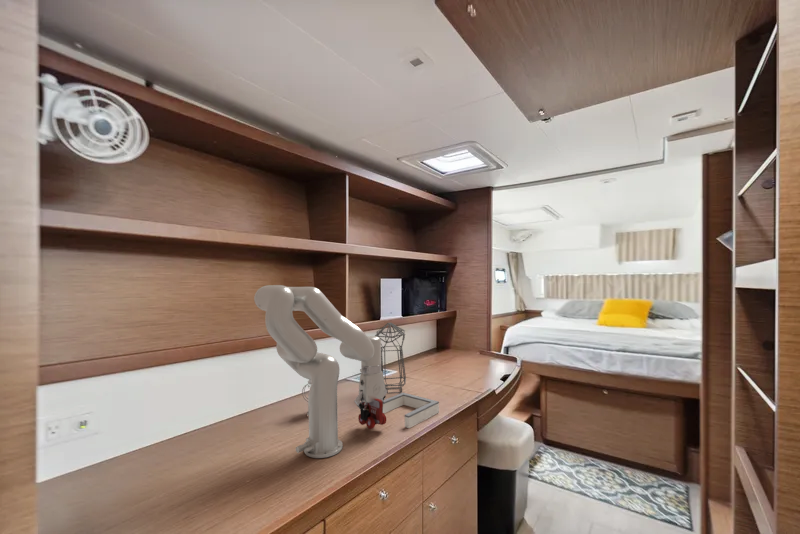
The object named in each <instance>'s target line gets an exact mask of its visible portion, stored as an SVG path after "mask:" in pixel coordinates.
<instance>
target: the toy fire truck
mask: <svg viewBox="0 0 800 534" xmlns="http://www.w3.org/2000/svg"><path fill="white" fill-rule="evenodd" d="M364 404H365V402H364V403H363V405H364ZM382 408H383V402H382V400H380V399H374V402H371V403H368V405H367V408H366V409H367V411H368V418H367V421H364V420H362V419H361V415H360V413H359V414H358V418H357V419H358V422H359V424H360V425H362V426H364V425H366V427H367V428H368V429H369V430H373V429H374V428H375V427H376V425H380V426H383V425H385V424H386V423H387V416H386V414H385V413H382Z"/></svg>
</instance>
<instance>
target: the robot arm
mask: <svg viewBox="0 0 800 534" xmlns="http://www.w3.org/2000/svg"><path fill="white" fill-rule="evenodd" d="M253 299H254V300H253V301H254V303H255V305H256V307H257V308H258V309H259V310H261V311H262V312H263V311H264V312H265V314H264V315H265V322H264V323H265V328H266V331H267V333H268V334H269V336H270V337H271V338H272V339H273V340H274V341H275V342H276V346H275V347H276V352H277V354H278V356H279V357H280V358H281V359H282V360H283V361H284V362H285V363H286V364H287V365H288V366H289V367H290V368H291V370H294V371H295V373H297V374H298V375H299V376H301V377H302V378H304V379H307V380H308V381H309V380H311V381H312V383H311V384H310V387H309V391H308V394H309V397H307V398H308V399H307V401H308V402H307V403H308V404H309V417H308V437H306V438H305V442H304V443H302V444H300V445H298V446H296V447H295V452H296V453H297V454H299V453H301V452H304V455H306V456H307V457H309V458H313V459H324V458H330V457H333V456H335V455H337V454H339V453H340V452H341V451H342V449H343V444H344V443H343V441H342V440H340V439H339V436H338V435H339V427H338V425H339V423H338V421H339V420H338V419H339V418H338V383H339V377H340V364H339V362H338V360H337V359H336V358H335V357H334V356H332V355H330V354H326V353H323V352H318V346H317V343H316V341H315V340H314V338H313V337H312V336H311V335H310V334H309V333H307V331H305V329H303V327H302V326H301V325H299V323H298V321H296V319H295V318H294V314H293V312H296V311H299V312H304V313H305V314H306V316H308V317H309V318H310V319H311V321H312V322H313V323H314V324H315V325H316V326H317V327H318V328H319V329H320V331H321V332H323V333H324V334H326V335H327V336H329V337H332V338H334V339H336V340H338V341H340V342H341V343H340V345H339V352H340V354H341V356H343V357H345V358H347V359H350V360H356V361H359V362H360V363H361V367H360V369H359V371H360V373H361V374H360V375H359V376H360V377H359V382H358V383H359V384H358V394H357V396H356V397H355V399H354V403H355V404H356V406H357V407H358V409H360V413H359V414H360V415H361V419H362V420H364V421H367V418H368V411H367V409H366V408H367V405H368V403H371V402H374V399H380V400H382V402H383V403H384V400H385V399H386V396H387V394H388V393H387V390H386V389H385V384H386V382H385V379H384V378H385V375H384V371H383V372H382V371H381V347H382V346H381V344H382V342H381V341H382V340H381V339H380V338H381V337H380V338H379V337H377V336H375V335H367V334H366V333H365V332H364V330H362V329H361V328H360V327H358V326H357V325H356V324H354V323H353V322H352V321H350V320H349V319H348V318H347V317H345V316H343V315H342V314H341V312H340V311H339V310H338V309H337V308H336V307H335V306H334V304H333V303H332V302H330V300H329V299H328V297H326V295H325V294H324V293H323V292H322V291H321V290H320V289H319V288H317V287H315V286H286V285H283V284H282V285H281V284H273V285H272V284H271V285H264V286H262V287H259V288H258V289H257V290H256V292H255V294H254V297H253ZM364 402H365V404H364V405H363V403H364ZM308 404H307V405H308ZM382 413H383V408H382Z"/></svg>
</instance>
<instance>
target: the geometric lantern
mask: <svg viewBox="0 0 800 534" xmlns="http://www.w3.org/2000/svg"><path fill="white" fill-rule="evenodd" d="M386 328H387V330H386V331H384V330H385V329H386ZM392 330H393V331H392ZM405 332H406V330H405V329H403V328H401V327H400V326H397V325H396V324H395V323H393V322H387V323H386V324H385V325H383V326H382V327H381V328H380V329H379V330H377V331H376V334H375V335H374V336H377V337H379V338H380V340H381V341H383V342H384V343H385V344H384V346H383V345H382V343H381V371H382V372H383V373H384V383H385V389H386V390H387V393H386V394H400V393H403V387H404V386H405V385H406V382H407V376H406V367H405V360H404V354H403V353H404V352H403V346H404V345H403V344H404V341H405V336H406V333H405ZM380 334H382V335H380ZM388 334H389V335H388ZM392 334H394V335H392ZM401 337H402V341H401V345H400V343H399V341H398V339H399V338H401ZM382 338H384V339H382ZM389 339H390V340H389ZM392 339H393V340H392ZM395 341H396V342H397V344H398V346H397V345H396V344H395V343H394V342H395ZM389 343H392V344H393V345H389V346H388V345H387V344H389ZM392 347H394V348H395V349H393V350H392V349H391V350H386V348H392ZM398 347H399V349H398ZM386 352H396V353H397V363H398V369H399V370H398V371H399V376H397V377H387V375H386V370H387V369H386ZM383 358H384V362H383ZM383 364H384V365H383ZM394 379H399V382H397V383H389V384H388V383H387V380H394ZM402 379H403V380H402ZM388 387H390V388H388ZM391 389H394V390H399V391H397V392H394V391H393V392H389V391H388V390H391Z"/></svg>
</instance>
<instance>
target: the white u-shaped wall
mask: <svg viewBox="0 0 800 534" xmlns="http://www.w3.org/2000/svg"><path fill="white" fill-rule="evenodd" d="M439 403H440V401H437V400H436V399H435V400H434V399H431V398H426V397H423V396H422V397H421V396H419V395H415V394H410V393H406V392H401V393H397V394H396V395H393V396H391V397H388V398H385V399H384V403H383V413H384V414H385V413H388V412H391V411H393V410H395V409H397V408H400V407H402V406H407V407H410V408H414V410H412V411H410V412H407V413H405V414H404V427H405V428H407V429H410V428H412V427H414V426H416V425H419V424H420V423H423V422H424V421H426V420H427V419H429V418H432V417H433V416H436V415H438V414H439V413H440V404H439Z"/></svg>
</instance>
